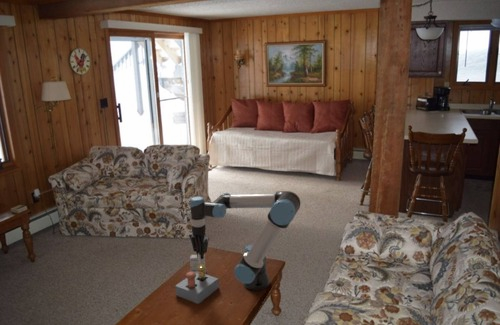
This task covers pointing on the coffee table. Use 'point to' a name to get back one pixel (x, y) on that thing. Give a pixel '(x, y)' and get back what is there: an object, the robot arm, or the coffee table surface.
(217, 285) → the socket board
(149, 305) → the coffee table surface
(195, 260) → the ink box
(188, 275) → the rust plug
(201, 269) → the brass plug
